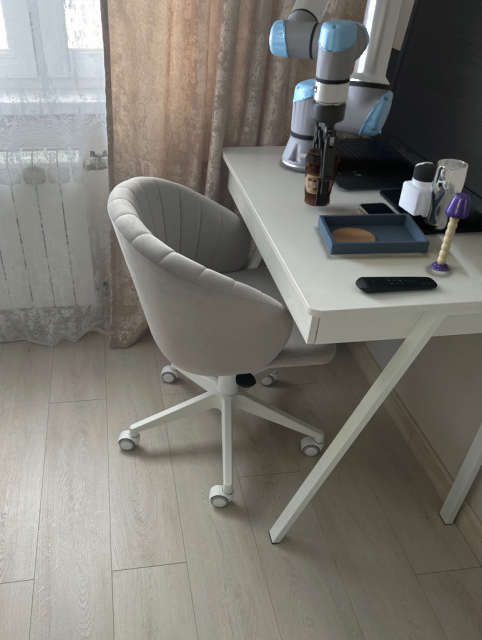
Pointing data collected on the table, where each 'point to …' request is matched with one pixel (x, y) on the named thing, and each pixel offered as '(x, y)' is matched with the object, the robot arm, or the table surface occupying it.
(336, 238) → the coaster
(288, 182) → the table surface
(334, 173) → the coffee cup
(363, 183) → the table surface
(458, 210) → the toy lamp
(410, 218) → the tray
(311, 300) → the table surface
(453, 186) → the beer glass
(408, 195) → the medicine bottle
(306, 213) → the table surface
